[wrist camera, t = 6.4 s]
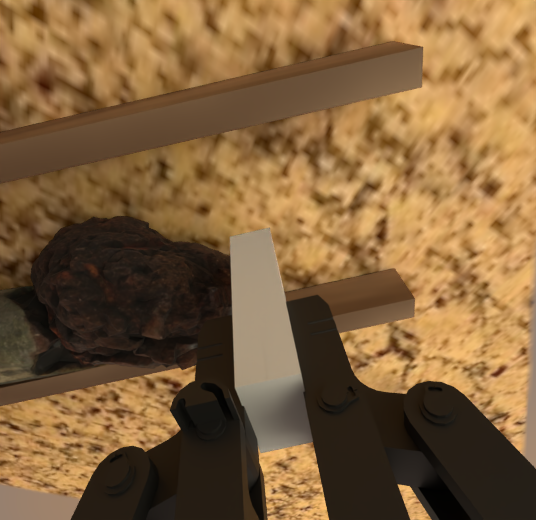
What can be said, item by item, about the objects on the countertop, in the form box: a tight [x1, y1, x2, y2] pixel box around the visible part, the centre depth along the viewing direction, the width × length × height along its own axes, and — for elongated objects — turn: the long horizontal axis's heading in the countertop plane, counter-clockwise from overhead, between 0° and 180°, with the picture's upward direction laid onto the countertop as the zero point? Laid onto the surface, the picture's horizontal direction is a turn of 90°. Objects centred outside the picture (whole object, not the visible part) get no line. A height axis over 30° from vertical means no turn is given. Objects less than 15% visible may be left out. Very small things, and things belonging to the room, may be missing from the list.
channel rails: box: [0, 41, 423, 406], centre depth 17 cm, size 12×28×2 cm, turn 101°
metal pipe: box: [0, 216, 232, 385], centre depth 16 cm, size 18×7×6 cm, turn 98°
